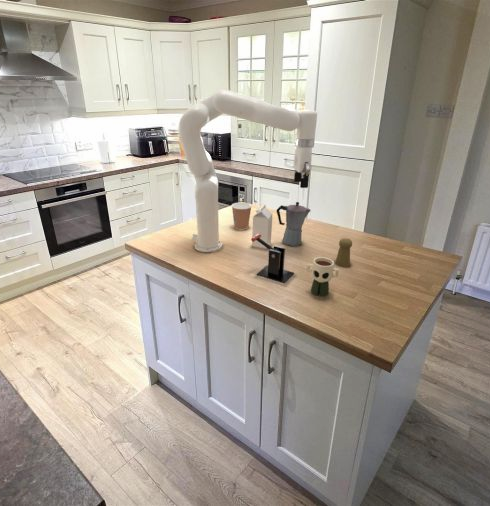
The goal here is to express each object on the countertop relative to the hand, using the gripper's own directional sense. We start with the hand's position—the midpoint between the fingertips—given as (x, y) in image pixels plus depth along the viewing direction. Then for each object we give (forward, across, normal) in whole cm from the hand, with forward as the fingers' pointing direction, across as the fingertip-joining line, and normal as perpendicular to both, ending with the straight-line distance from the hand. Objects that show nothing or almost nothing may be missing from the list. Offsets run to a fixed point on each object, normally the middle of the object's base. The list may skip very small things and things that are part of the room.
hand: (300, 184), depth 148 cm
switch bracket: (+29, +26, -15) cm, 42 cm away
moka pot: (+29, -4, -1) cm, 30 cm away
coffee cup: (+29, -26, -22) cm, 45 cm away
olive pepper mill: (+29, +19, +16) cm, 38 cm away
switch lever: (+18, +23, -19) cm, 35 cm away
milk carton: (+29, -2, -15) cm, 33 cm away
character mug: (+29, +41, -2) cm, 50 cm away
